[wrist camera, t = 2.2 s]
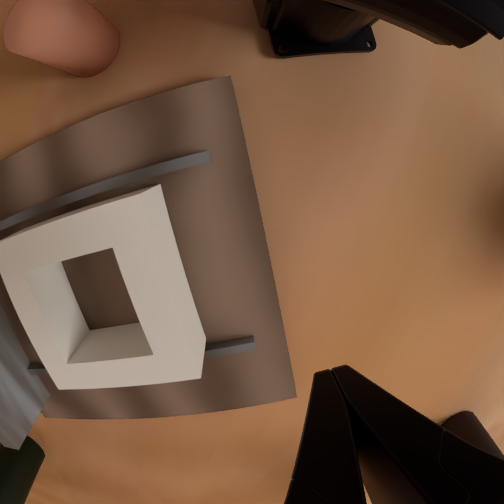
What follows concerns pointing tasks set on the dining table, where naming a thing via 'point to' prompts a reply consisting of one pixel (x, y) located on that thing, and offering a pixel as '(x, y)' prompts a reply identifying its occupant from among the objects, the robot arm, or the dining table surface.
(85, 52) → the dowel
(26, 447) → the wine bottle
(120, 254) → the block
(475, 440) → the vinegar
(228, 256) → the board
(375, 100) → the dining table surface
